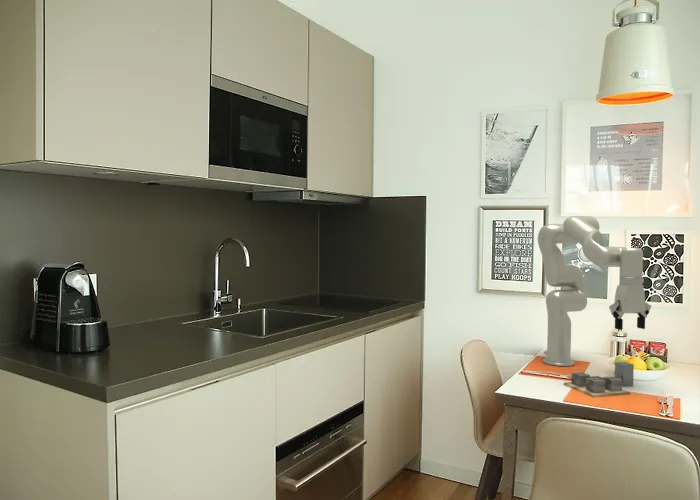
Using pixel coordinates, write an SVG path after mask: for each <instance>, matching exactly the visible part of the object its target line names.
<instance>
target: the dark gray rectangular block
mask: <svg viewBox="0 0 700 500" xmlns="http://www.w3.org/2000/svg"><path fill="white" fill-rule="evenodd" d="M634 367H635V365H634V364H633V363H631V362H627V361H616V362H614V377H616V378H619V379H622V388H623V387H633V386H634V371H635V370H634Z"/></svg>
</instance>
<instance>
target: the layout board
mask: <svg viewBox="0 0 700 500" xmlns="http://www.w3.org/2000/svg"><path fill="white" fill-rule="evenodd" d="M570 376H571V379H570V380H571V381H569V382H567V381H566V382H565V381H564V382H563V385H564V386H566V387H568V388H571V389H573V390H576V391H578V392H580V393H583V394H585V395H588V396H590V397H592V398H598V397H601V398H602V397H613V396H625V395H631V392H630V390H629V391H628V390H626V389H624V388H623V387H622V379H619V378H616V377H615V375H614V376H600V375H593V376H592V375H591V374H588V373H585V372H583V371H579V372H576V371H575V372H571V374H570Z"/></svg>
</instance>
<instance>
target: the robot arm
mask: <svg viewBox="0 0 700 500" xmlns="http://www.w3.org/2000/svg"><path fill="white" fill-rule="evenodd" d="M601 240H602V232H601V231H600V223H599V221H598V220H597V219H596V218H595V217H593V216H589V215H572V216H569V217H566V218H565V220H564V221H563V223H548V224H545V225H542V227H541V228H540V229H539V231H538V234H537V244H538V248H539V250H540V254H541V256H542V262H543V270H544V274H545V275H544V276H545V279H546V283H547V285H548V286H550V287H551V288H552V287H554V288H567V289H554V290H552V291H549V292H548V293H547V294H546V296H545V306H546V312H547V339H546V341H547V343H546V345H547V346H546V350H545V351H543V354H544V355H545V357H544V358H543V359H542V362H543V363H544V364H546V365H550V366H557V367H569V366H570V367H571V366H574V365H575V361H574V360H573V359H572V358H571V354H572V353H571V352H572V351H571V349H572V348H571V347H572V321H571V318H570V316H569V314H568V313H569V312H582V311H583V310H585V309H586V308H587V305H588V296H587V289H586V284H585V283H586V282H585V278H584V274H583V272H582V270H581V269H580V267H578V266H577V265H573V264H566V262H565V259H564V255H563V252H562V251H561V249H560V248H559V247H558V246H557V244H568V245H569V244H571V245H572V244H576V243H578V244H579V245H581V249H582V253H583V255H584V257H585V258H586V259H588V260H589V261H590V262H591V263H592V264H594V265H595V266H598V267H601V268H613V267H614V268H619V283H618V285H617V286H616V290H615V295H614V303H612V304H610V305H609V306H608V309H609V310H610V314H611V315H612V318H613V319H614V329H615V330H619V331H622V330H623V329H624V328H623V327H624V326H623V324H624V320H623V318H622V317H623V316H624V315H625V314H636V315H637V319H636V327H637V328H638V329H642V330H645V329H646V318H647V317H648V315H649V313H650V311H651V308H652V305H651V304H650V303H648V302H646V295H645V294H646V293H645V288H644V287H645V286H644V285H643V283H644V282H645V278H643V277H644V276H643V275H644V274H643V271H644V270H643V269H644V250H643V249H642V248H640V247H639V248H638V247H625V246H602V245H600V243H601Z"/></svg>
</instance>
